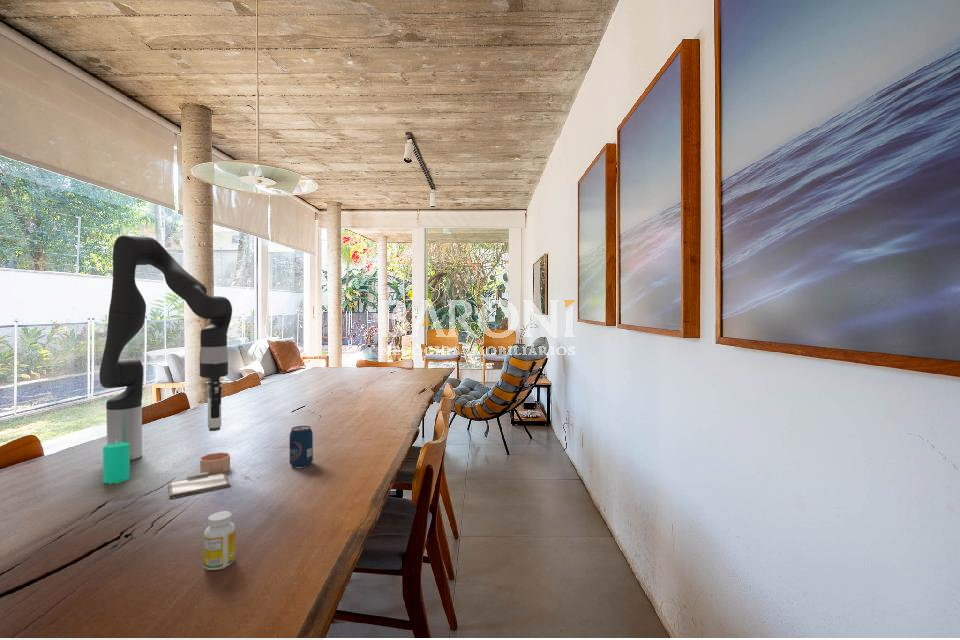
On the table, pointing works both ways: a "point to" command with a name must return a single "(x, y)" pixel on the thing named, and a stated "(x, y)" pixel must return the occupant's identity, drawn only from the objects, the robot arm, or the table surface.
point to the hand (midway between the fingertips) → (214, 416)
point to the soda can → (301, 446)
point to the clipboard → (198, 484)
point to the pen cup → (215, 463)
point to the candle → (116, 462)
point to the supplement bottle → (219, 540)
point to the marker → (213, 423)
